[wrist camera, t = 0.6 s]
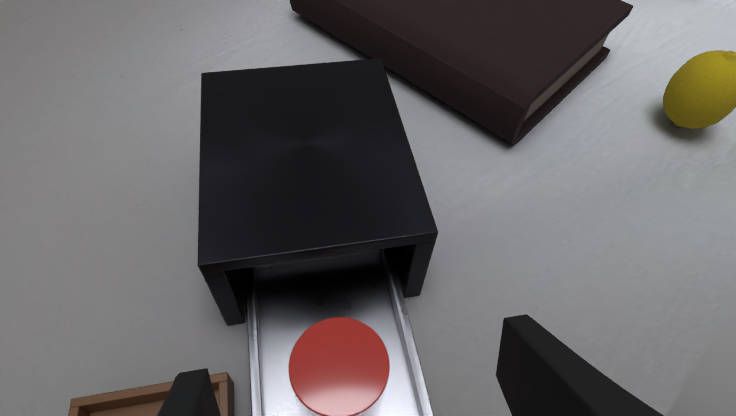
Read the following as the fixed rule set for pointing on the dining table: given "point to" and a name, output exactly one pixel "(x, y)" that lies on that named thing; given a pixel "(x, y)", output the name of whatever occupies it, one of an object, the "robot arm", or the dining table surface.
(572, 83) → the book
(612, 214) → the dining table surface
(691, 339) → the dining table surface
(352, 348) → the glossy red cylinder
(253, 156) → the oven
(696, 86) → the lemon
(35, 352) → the dining table surface
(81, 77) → the dining table surface
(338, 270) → the tray
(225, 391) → the tray
